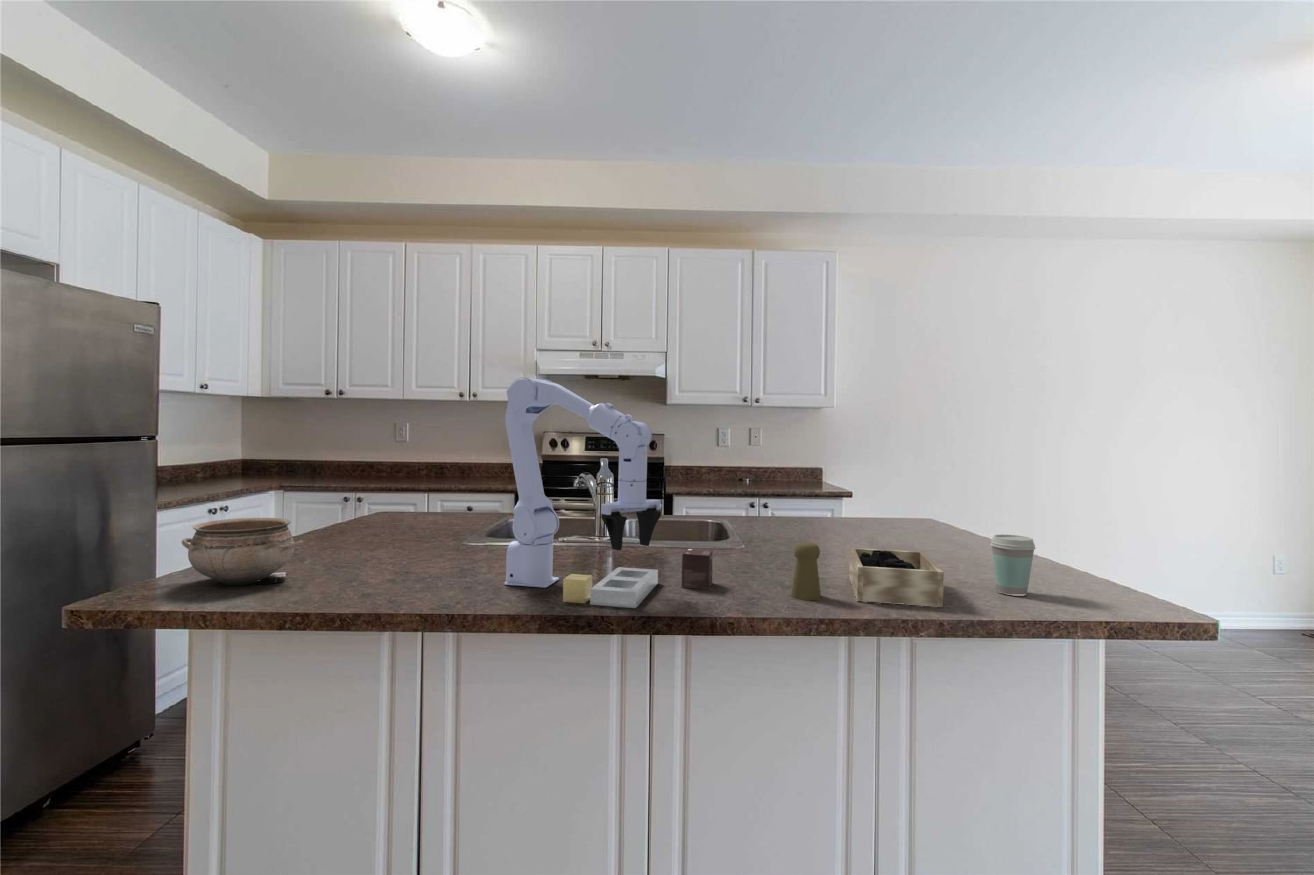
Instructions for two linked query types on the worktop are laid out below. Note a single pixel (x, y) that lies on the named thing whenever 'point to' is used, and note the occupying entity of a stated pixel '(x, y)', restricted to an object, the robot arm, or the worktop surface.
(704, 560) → the box
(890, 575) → the wall
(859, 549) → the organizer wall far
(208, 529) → the cooking pot
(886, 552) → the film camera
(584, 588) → the pale yellow wooden cube
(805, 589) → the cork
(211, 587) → the worktop surface
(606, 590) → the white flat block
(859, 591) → the organizer wall panel
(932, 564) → the wall
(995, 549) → the coffee cup
